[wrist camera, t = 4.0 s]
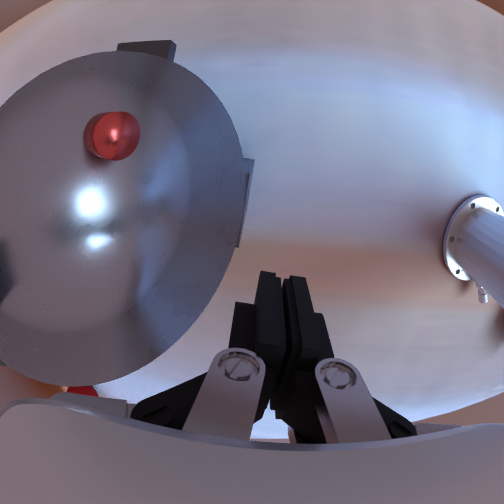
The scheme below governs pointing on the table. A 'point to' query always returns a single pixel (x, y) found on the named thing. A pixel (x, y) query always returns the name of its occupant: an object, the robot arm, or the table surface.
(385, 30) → the table surface
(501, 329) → the table surface
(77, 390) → the christmas ornament
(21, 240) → the lid
